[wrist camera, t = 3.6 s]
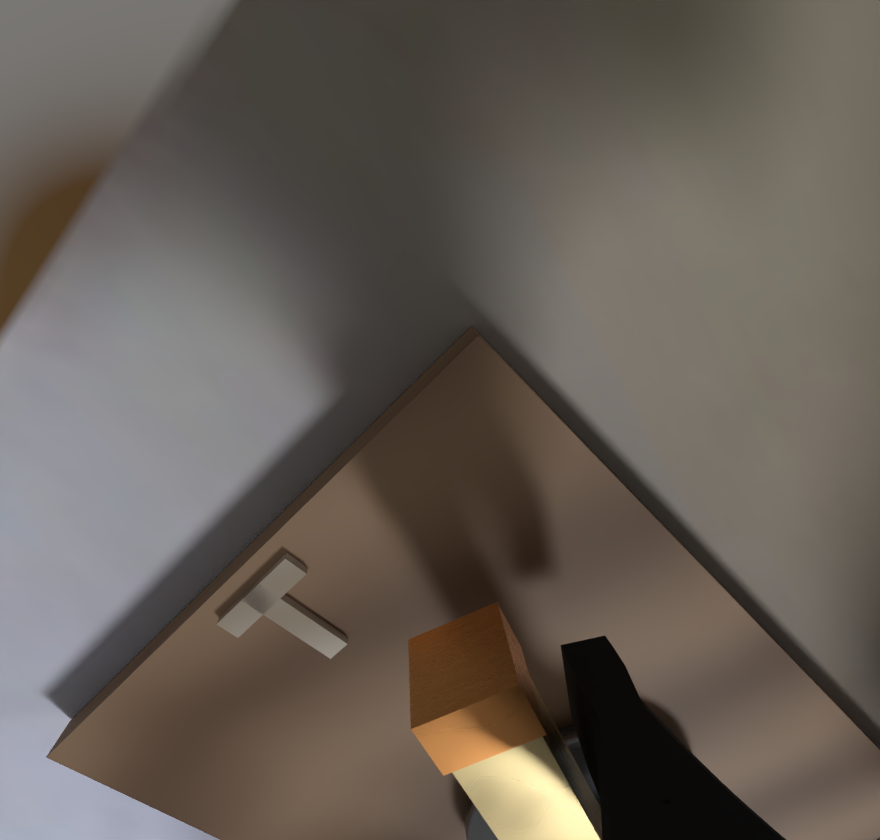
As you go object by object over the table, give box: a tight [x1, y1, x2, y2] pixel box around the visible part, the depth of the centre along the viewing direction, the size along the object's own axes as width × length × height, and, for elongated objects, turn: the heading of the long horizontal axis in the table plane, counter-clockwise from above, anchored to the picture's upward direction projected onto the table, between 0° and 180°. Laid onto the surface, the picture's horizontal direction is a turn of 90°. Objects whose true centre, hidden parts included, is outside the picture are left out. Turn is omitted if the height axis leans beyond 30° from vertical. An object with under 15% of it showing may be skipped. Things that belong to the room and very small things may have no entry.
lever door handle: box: [408, 602, 690, 840], centre depth 12 cm, size 13×7×4 cm, turn 25°
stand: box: [47, 326, 880, 840], centre depth 15 cm, size 22×15×1 cm
